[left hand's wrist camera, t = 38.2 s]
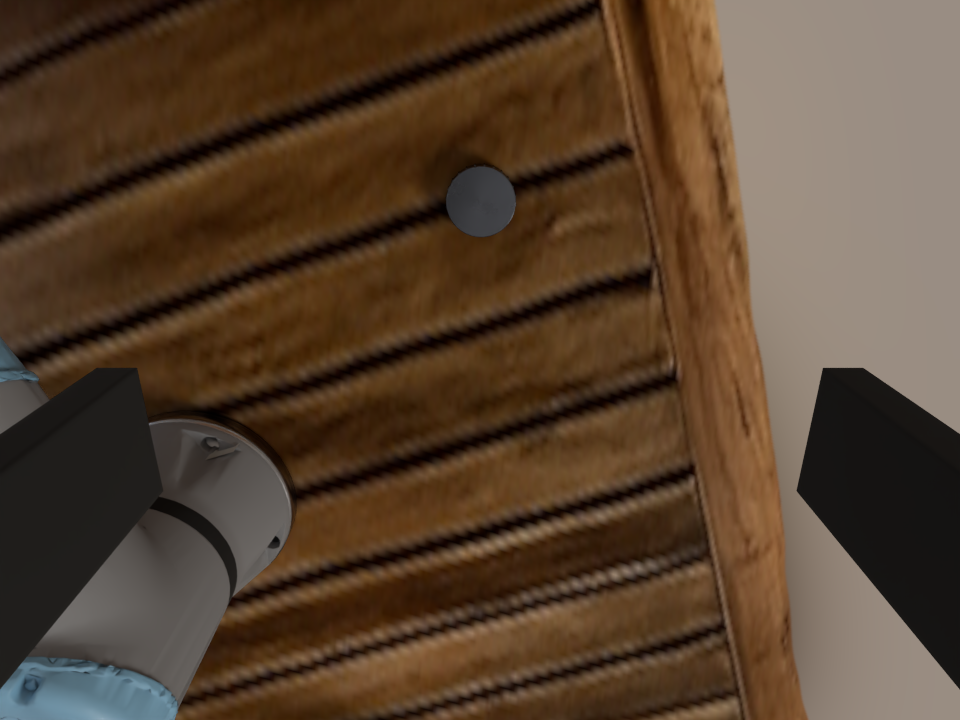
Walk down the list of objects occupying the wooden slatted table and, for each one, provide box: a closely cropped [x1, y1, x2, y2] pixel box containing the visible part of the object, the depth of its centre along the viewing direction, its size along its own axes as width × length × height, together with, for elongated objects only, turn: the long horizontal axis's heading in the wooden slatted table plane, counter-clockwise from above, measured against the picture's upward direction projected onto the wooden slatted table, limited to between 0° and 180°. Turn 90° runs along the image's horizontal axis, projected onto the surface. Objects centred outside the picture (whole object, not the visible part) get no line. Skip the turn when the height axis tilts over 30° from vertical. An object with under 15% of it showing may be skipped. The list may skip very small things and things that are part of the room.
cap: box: [446, 163, 516, 237], centre depth 42 cm, size 5×5×2 cm
